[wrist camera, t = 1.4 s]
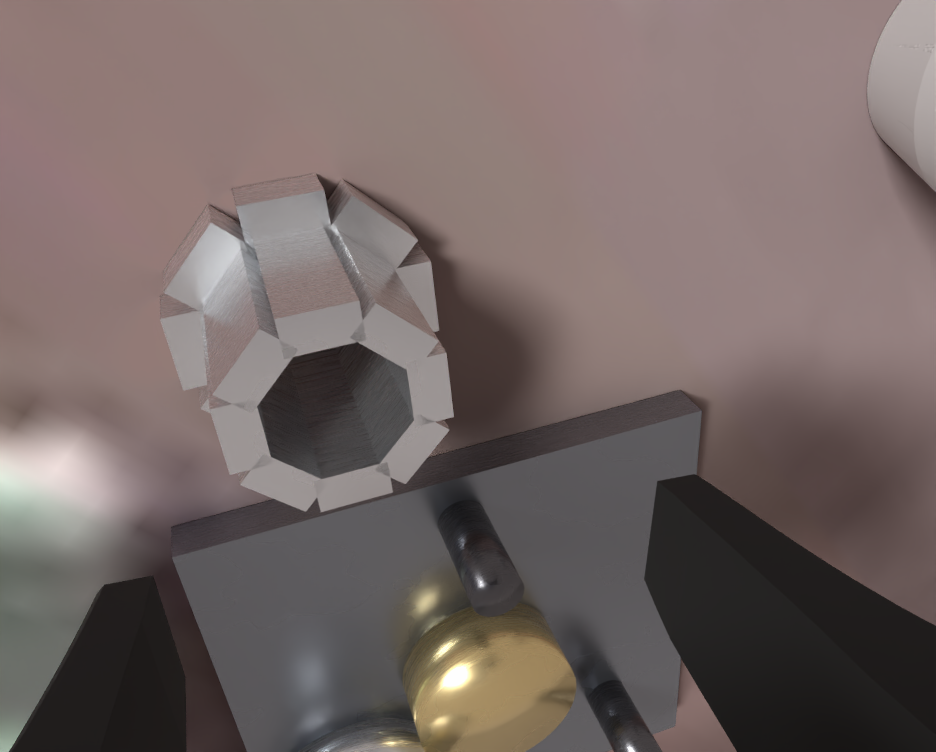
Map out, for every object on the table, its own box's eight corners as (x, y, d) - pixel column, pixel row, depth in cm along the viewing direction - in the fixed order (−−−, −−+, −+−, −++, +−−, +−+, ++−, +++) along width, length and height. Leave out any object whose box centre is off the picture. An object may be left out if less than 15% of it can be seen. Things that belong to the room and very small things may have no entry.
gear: (204, 435, 20) (216, 573, 16) (131, 207, 17) (122, 306, 13) (434, 379, 22) (499, 492, 18) (406, 156, 18) (477, 232, 14)
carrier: (287, 835, 29) (304, 960, 26) (171, 526, 21) (173, 648, 18) (659, 701, 33) (718, 796, 29) (680, 389, 25) (764, 470, 21)
